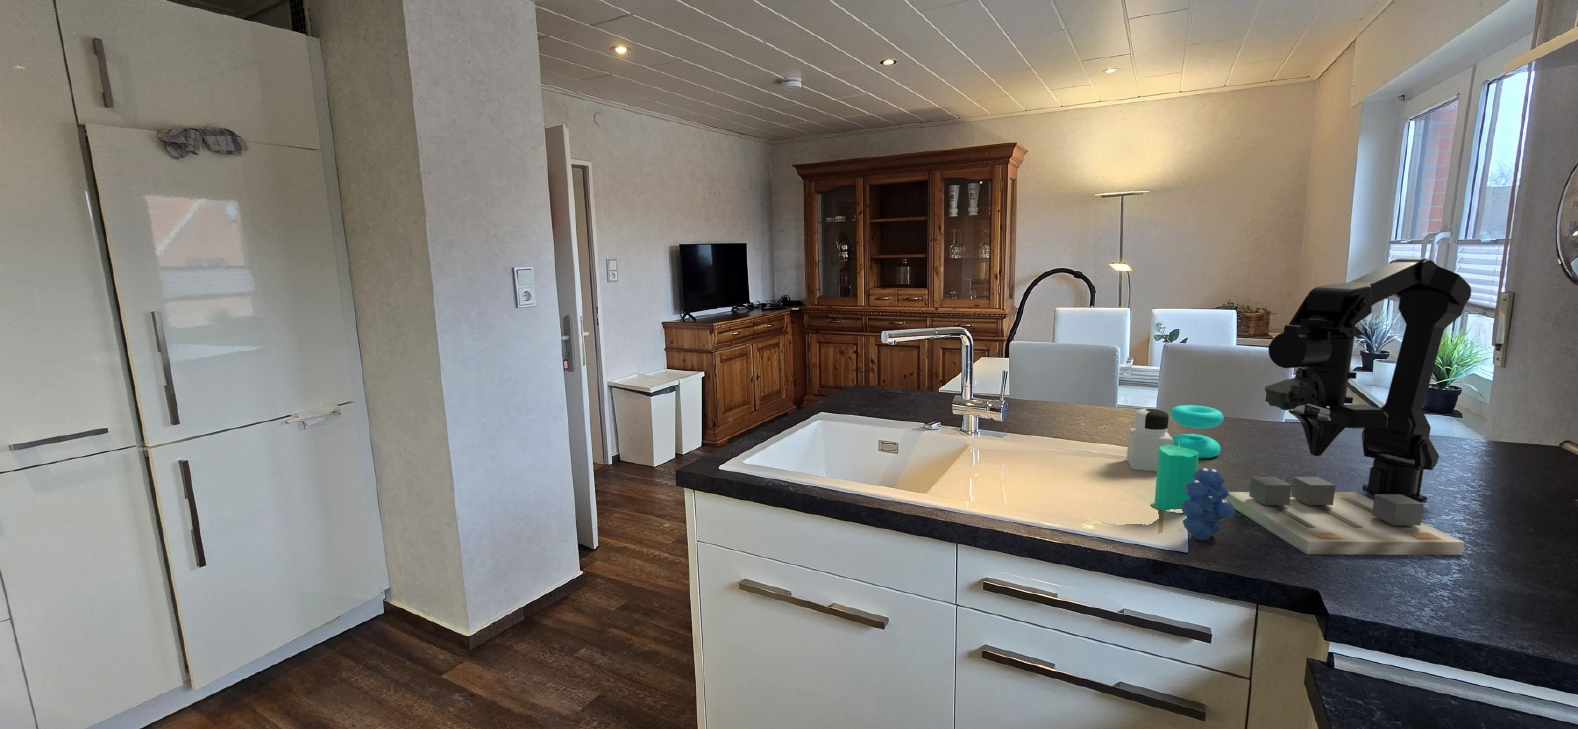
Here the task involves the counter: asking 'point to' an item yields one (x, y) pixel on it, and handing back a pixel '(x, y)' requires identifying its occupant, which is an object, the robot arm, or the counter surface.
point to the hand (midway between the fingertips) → (1315, 455)
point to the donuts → (1197, 419)
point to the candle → (1174, 475)
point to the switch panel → (1344, 527)
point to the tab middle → (1313, 490)
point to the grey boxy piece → (1397, 509)
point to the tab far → (1270, 491)
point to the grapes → (1206, 504)
